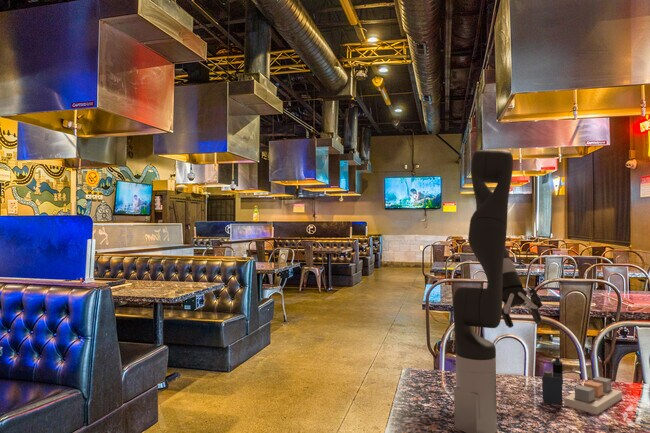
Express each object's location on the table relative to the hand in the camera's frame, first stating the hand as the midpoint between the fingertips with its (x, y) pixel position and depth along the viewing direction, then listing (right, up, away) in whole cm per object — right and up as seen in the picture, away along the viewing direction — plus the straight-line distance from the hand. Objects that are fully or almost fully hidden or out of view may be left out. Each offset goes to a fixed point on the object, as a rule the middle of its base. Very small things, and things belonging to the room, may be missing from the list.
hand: (524, 324), depth 131 cm
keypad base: (+15, -19, -10) cm, 26 cm away
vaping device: (+3, -19, -10) cm, 22 cm away
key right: (+19, -17, -6) cm, 26 cm away
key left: (+10, -17, -13) cm, 23 cm away
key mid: (+15, -17, -9) cm, 24 cm away
